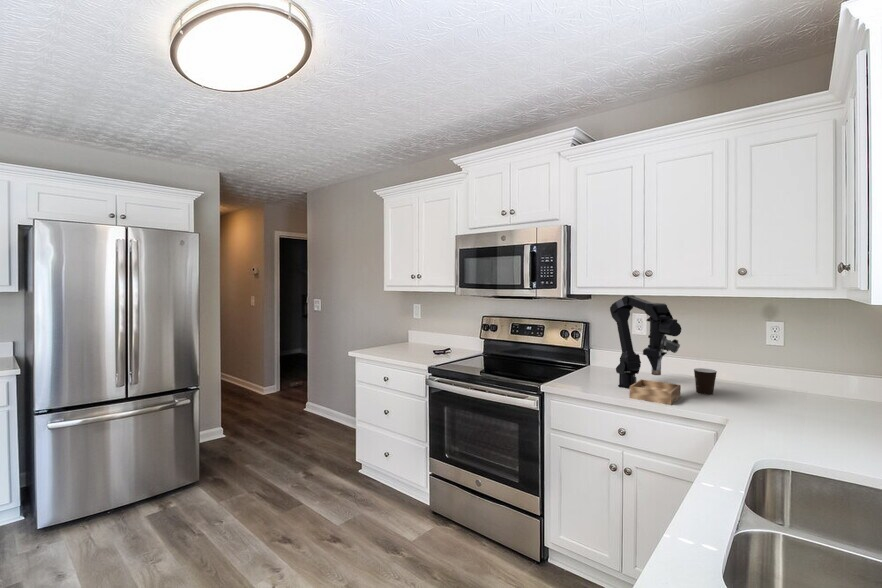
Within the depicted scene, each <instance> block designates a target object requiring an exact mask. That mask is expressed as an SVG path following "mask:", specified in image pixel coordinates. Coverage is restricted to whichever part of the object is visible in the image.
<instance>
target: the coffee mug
mask: <svg viewBox="0 0 882 588" xmlns="http://www.w3.org/2000/svg"><path fill="white" fill-rule="evenodd" d="M693 372H694V373H693V375H694V382H695V392H696V393H697V394H699V395H703V396H704V395H707V396H712V395H714V389H715V384H716V377H717V373H718V372H717V370H715V369H711V368H710V369H709V368H701V367H700V368H699V367H698V368H694V369H693Z"/></svg>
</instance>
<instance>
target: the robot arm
mask: <svg viewBox="0 0 882 588" xmlns="http://www.w3.org/2000/svg"><path fill="white" fill-rule="evenodd" d="M634 308H636V309H639V310H642V311H643V312H644V313H645V314H646V315H647V316H649V317H648V318H647V319H646V322H649V334H648V337H647V338H648V339H649V342H648V343H649V344H648V345H647V347H646V348H644V349H642V355H643V356H646V358H647V359H648V362H649V363H650V365H651V369H652V368H653V370H654V371H656V370H657V365H658V361H659V358H660V357H661V361H663V357H665V355H667V353H668V352H671V353H673V354H676V353H678V351H679V349H680V347H681V344H680V343H679V340H678V339H676V338H675V339H673V340H671V339H668V338H667V336H670V337H678V336H679V335H680V334H681V332H682V327H681V324H680V323H679V322H678V319H677V318H676V319H674V318H673V315H672V313H671V311H670V310H669V307H668V305H667V304H666V303H663V302H653V301H648V300H646V299H642V298H640V297H636V296H635V295H624V296H623V297H622V298H621V299H618V300H617V301H615V302H612V304H611V306H610V307H609V312H610V314H611V315H610V316H611V318H612V319H613V320H614V322H616V325H617V332H618V337H619V342H620V347H621V348H620V349H621V354H620V356H619V364H618V365H617V366H616V367H615V371H616V374H618V375H619V376H618V377H619V379H618V380H619V381H618V384H617V386H618V387H619V388H627V389H630V386H631V385H633V384H634V383H636V382H637V376H636V375H638V374H639V372H640V369H641V364H642V362H641V357H640V354H639V353H636V352H635V350H634V346H633V341H632V336H631V331H630V326H629V319H630V316H631V311H632V310H633V309H634ZM665 351H666V352H665Z"/></svg>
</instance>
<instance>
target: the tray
mask: <svg viewBox="0 0 882 588" xmlns="http://www.w3.org/2000/svg"><path fill="white" fill-rule="evenodd" d="M681 392H682V391H681V384H676V383H668V382H662V381H656V380H655V381H654V380H647V379H639V380H637V381H636V383H634V384H633V385H631V386H630V388H629V393H628V394H629V396H628V397H629V399H632V400H640V401H646V402H650V403H658V404H662V405H668V406H672V405H673V404H674V403H675V402H676V401H677V400H678V399H680V398H681Z"/></svg>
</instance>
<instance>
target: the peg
mask: <svg viewBox="0 0 882 588" xmlns="http://www.w3.org/2000/svg"><path fill="white" fill-rule="evenodd" d="M651 375H653V376H661V375H662V360H661V357H660V358H659V361H658V365H657V370H656V371H654V370H653V368H652V367H651Z"/></svg>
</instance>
